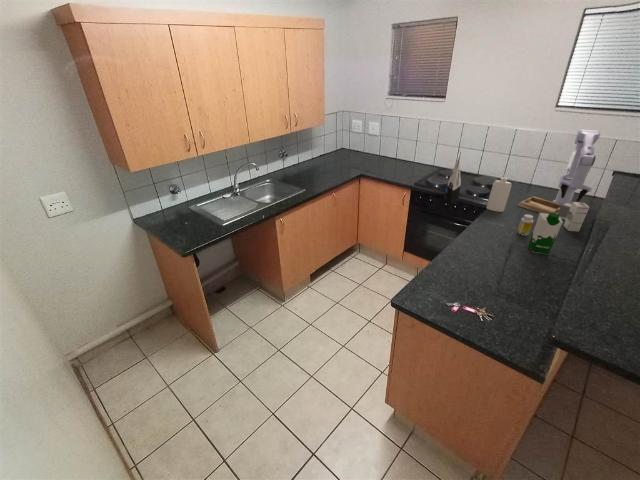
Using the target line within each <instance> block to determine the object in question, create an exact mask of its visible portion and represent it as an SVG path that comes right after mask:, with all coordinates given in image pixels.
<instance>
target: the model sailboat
mask: <svg viewBox="0 0 640 480" xmlns="http://www.w3.org/2000/svg"><path fill="white" fill-rule="evenodd" d="M461 154H462V151H460V153H459V157H458V159H457V161H456V163H455V165H454V167H453V168H452V171H451V173H450V176H449V180H448V181H447V184H446V187H445V188H446V189H445V191H444V194H443V200H444V202H446V203H448V204H449V205H452V204H455V203H457V202H458V201H459V199H460V193H461V186H462V180H461V167H460V166H461V165H460V164H461V163H460V159H461Z"/></svg>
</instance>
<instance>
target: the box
mask: <svg viewBox="0 0 640 480" xmlns="http://www.w3.org/2000/svg"><path fill="white" fill-rule="evenodd" d="M571 205H572V203H570V204H569V203H565V204H563V205H562V204H561V207H560V209H559V212H557V213H558V215H559V216H561V217H564V218H565V217H567V215H568V213H569V210H570V208H571Z"/></svg>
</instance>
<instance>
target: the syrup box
mask: <svg viewBox="0 0 640 480" xmlns="http://www.w3.org/2000/svg"><path fill="white" fill-rule="evenodd" d="M571 204H572V205H571V208H570V210H569V213H568V215H567V217H566V220H564V221H563V224H562V225H563V227H564V228H565V230H567V231H569V232H580V230H581V228H582V225H583V224H584V223H583V222H584V221H585V218H586V216H587V214H588V211H589V209H590V206H589V205H588V204H586V203H585V202H581V201H579V202H576V201H572V203H571Z"/></svg>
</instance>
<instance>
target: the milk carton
mask: <svg viewBox="0 0 640 480" xmlns="http://www.w3.org/2000/svg"><path fill="white" fill-rule="evenodd" d="M563 224H564V221H563V219H561V218H560V217H559V215H558V214H556V213H555V214H554V213H549V214H545V213H539V214H538V217H537V220H536V224H535V226H534V228H533V230H532V231H533V232H532V233H531V236H530V240H529V241H528V242H529V243H528V245H529V246H530V248H531V250H532V251H534V252H541V253H545V254H548V255H549V254H550V252H551V250H552V248H553V246H554V243H555V241H556V239H557V236H558V234H559V232H560V230H561V229H560V228H561V227H562V225H563ZM529 246H528V247H529ZM530 248H529V249H530Z"/></svg>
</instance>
